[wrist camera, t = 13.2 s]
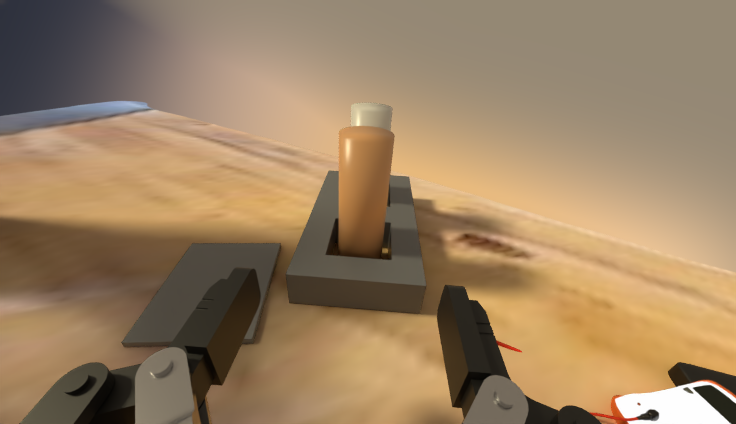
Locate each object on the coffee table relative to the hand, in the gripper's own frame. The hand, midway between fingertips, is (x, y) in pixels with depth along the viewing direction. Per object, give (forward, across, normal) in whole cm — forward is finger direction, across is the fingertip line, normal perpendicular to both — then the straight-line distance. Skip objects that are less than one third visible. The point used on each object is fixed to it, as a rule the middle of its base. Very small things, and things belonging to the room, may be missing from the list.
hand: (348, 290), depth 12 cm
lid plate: (+7, +11, +9) cm, 16 cm away
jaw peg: (+11, 0, +8) cm, 14 cm away
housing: (+15, 0, +8) cm, 17 cm away
